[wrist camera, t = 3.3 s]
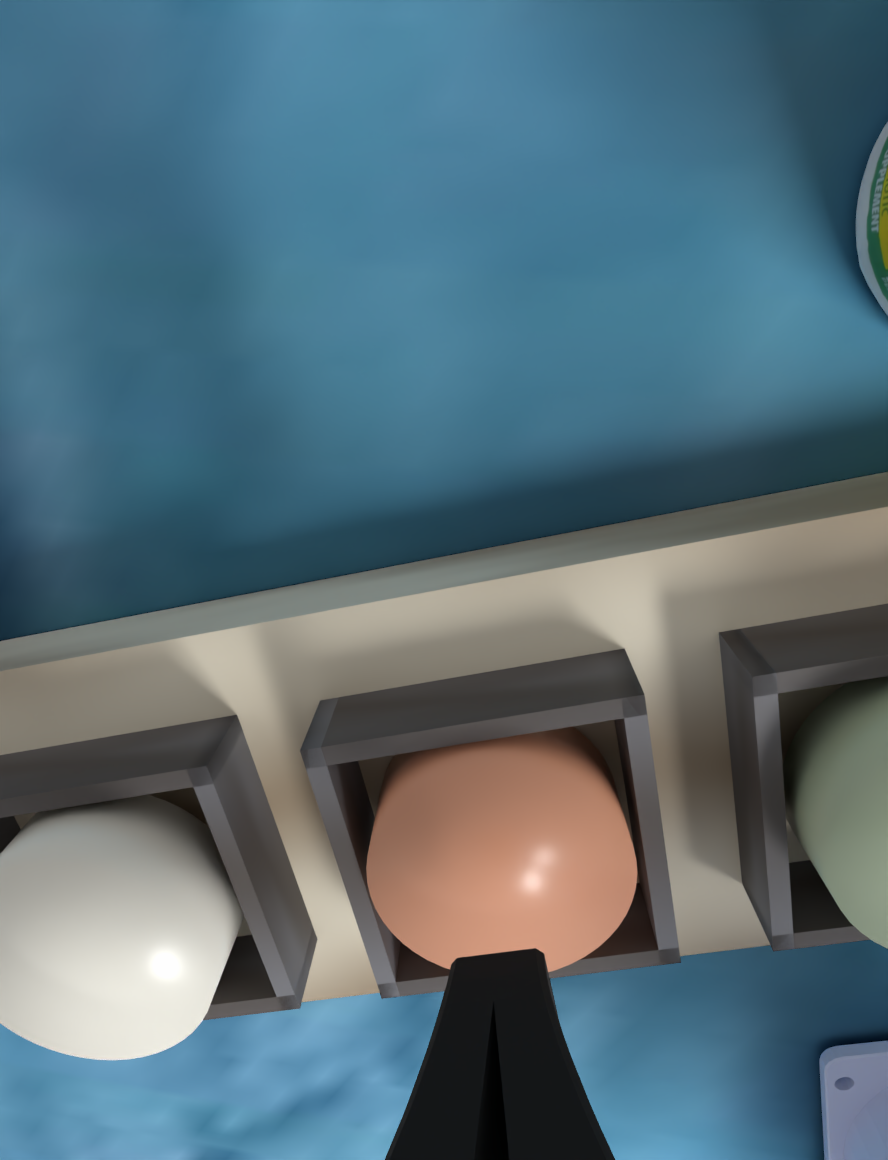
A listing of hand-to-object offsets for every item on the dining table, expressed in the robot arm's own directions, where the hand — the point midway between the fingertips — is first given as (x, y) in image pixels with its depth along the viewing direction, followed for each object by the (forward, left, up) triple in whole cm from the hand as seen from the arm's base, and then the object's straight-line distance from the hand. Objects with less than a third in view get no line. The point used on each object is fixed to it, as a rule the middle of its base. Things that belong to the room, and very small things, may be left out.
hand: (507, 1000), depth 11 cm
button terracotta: (0, 0, -4) cm, 4 cm away
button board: (0, 0, -7) cm, 7 cm away
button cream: (0, +8, -4) cm, 9 cm away
